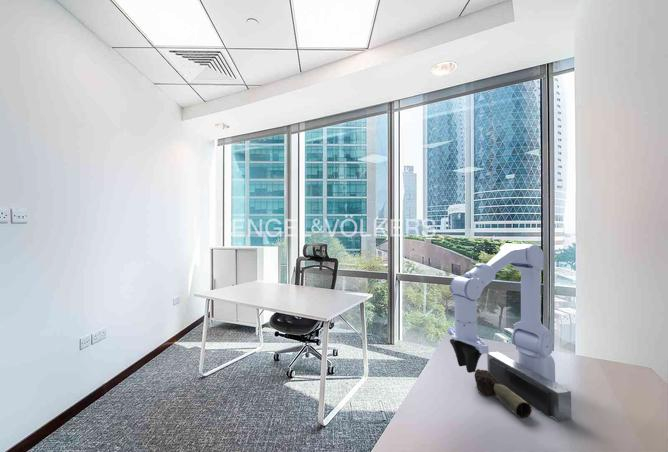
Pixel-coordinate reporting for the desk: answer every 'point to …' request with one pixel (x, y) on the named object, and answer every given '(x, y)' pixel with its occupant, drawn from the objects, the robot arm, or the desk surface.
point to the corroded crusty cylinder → (501, 393)
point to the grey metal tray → (531, 386)
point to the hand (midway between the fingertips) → (466, 368)
